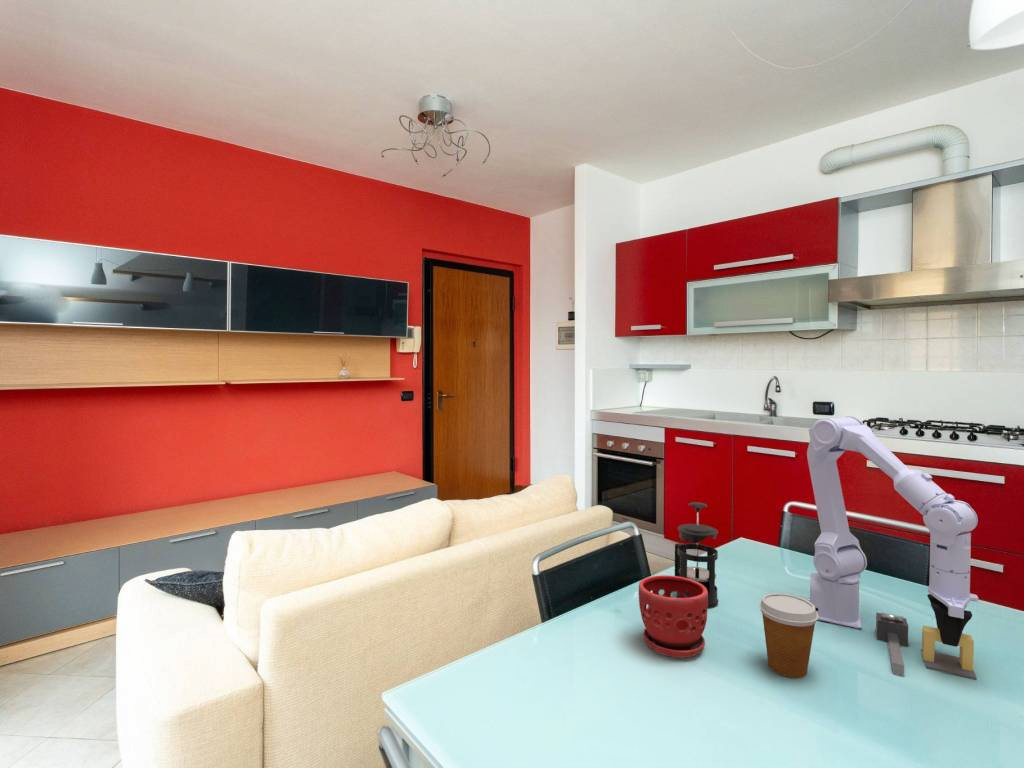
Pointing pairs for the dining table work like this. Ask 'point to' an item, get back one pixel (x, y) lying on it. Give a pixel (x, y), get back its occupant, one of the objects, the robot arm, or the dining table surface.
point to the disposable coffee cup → (788, 632)
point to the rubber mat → (949, 665)
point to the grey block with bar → (893, 638)
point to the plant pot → (673, 615)
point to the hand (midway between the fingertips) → (948, 640)
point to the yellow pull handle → (934, 635)
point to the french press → (701, 575)
